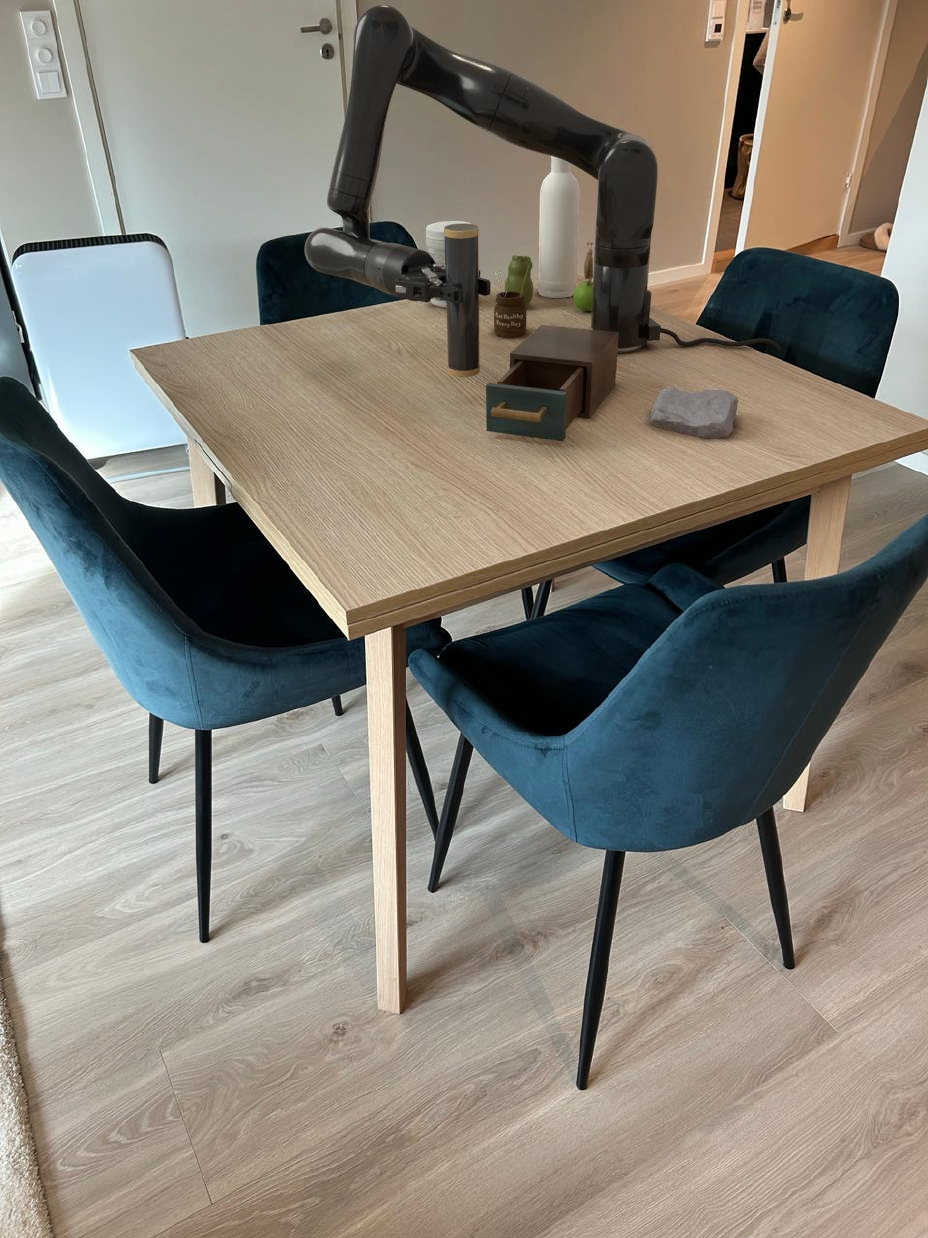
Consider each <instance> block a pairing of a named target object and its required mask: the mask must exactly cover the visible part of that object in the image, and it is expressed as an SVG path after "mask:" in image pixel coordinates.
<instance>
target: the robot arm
mask: <svg viewBox="0 0 928 1238" xmlns="http://www.w3.org/2000/svg"><path fill="white" fill-rule="evenodd" d="M352 37H353V38H352V39H353V49H352V66H351V67H352V68H351V79H350V87H349V94H348V101H347V107H346V111H345V117H344V122H343V127H342V131H341V135H340V137H339V138H340V139H339V143H338V148H337V152H336V156H335V160H334V165H333V167H332V168H333V169H332V173H331V177H330V182H329V186H328V187H329V188H328V191H327V196H326V205H327V207H328V209H329V210H331V211H332V212H333V213H336V214H337V215H339V216H340V217H341V220H342V221H341V222H342V230H338V229H335V228H331V227H325V226H324V227H319V228H317V229H314V230H313V231H312V232H311V233H310V234H309V235H308V237H307V239H306V240H305V244H304V255H305V259H306V261H307V262H308V264H309V265H310V267H311V268H312V269H313V270H314V271H316V272H318V273H321V274H325V275H330V276H335V277H338V278H339V277H340V278H344V279H349V280H352V281H355V282H357V283H360V284H362V285H364V286H367V287H371V288H373V289H377V290H379V291H381V292H382V293H385V294H387V295H390V296H391V295H392V296H393V297H396V298H398V299H404V300H407V301H410V302H423V303H431V302H430V301H431V299H435V300H437V301H440V300H446V301H450V302H453V303H456V304H459V303H462V302H463V289H462V288H461V287H458V286H455V285H451V284H447V283H446V269H445V265H444V264H436V262H435V261H434V259H433V258H432V256H431V255H430V254H429V253H428V252H427V250H423V249H420V248H415V247H411V246H408V245H403V244H401V243H400V244H399V243H395V242H385V241H382V240H378V239H373V238H371V237H370V223H371V222H370V210H371V209H370V207H371V204H372V201H373V196H374V191H375V188H376V183H377V180H378V179H377V178H378V173H379V169H380V163H381V156H382V150H383V141H384V135H385V134H384V133H385V128H386V123H387V117H388V112H389V109H390V104H391V101H392V98H393V94H394V92H395V89H396V85H399V86H402V87H404V88H407V89H410V90H412V91H415V92H417V93H420V94H422V95H425V96H427V97H429V98H431V99H433V100H435V101H436V102H438V103H440V104H442V105H443V106H444V107H446V108H447V109H449V110H450V111H451V112H453V113H454V114H456V115H458V116H460V117H461V118H463V119H464V120H465V121H467V122H469V123H470V124H472V125H474V126H476V127H477V128H480V129H481V130H482V131H484V132H487V133H488V134H490V135H492V136H494V137H496V138H498V139H500V140H502V141H505V142H506V143H509V144H511V145H513V146H516V147H519V148H521V149H524V150H528V151H531V152H534V153H537V154H542V155H545V156H548V157H551V156H552V157H556V158H559V159H562V160H564V161H566V162H568V163H570V165H572V166H574V167H577V168H578V169H579V170H581V171H583V172H584V173H586V174H588V175H589V176H590V177H592V178H593V179H595V180H596V181H597V201H596V217H595V219H596V220H595V228H594V229H595V230H594V234H595V235H594V252H593V254H594V255H593V278H592V282H593V294H592V310H591V315H590V316H591V319H590V326H589V327H588V329H590V330H600V331H610V332H619V335H618V351H617V354H623V353H632V352H636V351H639V350H640V349H646V348H648V342H652V341H653V342H654V341H660V339H661V334H664V335H667V336H670V337H671V338H672V339H674V341H675V343H676V344H677V345H678V346H681V347H684V348H689V347H693V346H696V345H700V344H705V343H706V344H707V343H708V344H714V345H720V346H723V347H732V348H733V347H737V348H738V347H745V346H750V345H757V344H765V345H769V346H771V347H773V348H774V349H775V350H779V351H781V350H782V347H781V346H780V345H779V344H778V343H777V342H776V341H774V340H771V339H770V338H760V337H759V338H753V339H748V340H747V339H746V340H741V341H730V340H729V341H728V340H723V339H718V338H714V337H713V338H712V337H700V338H696V339H694V340H691V341H683V340H682V339H680V337H679V335H678V334H677V333H676V332H675V331H672V330H670V329H668V328H663V327H662V326H661V324H660V323H658V322H656V321H655V320H654V319H652V318H651V317H650V316H651V304H652V302H651V301H652V292H651V290H650V289H648V284H649V271H650V270H649V269H650V258H651V257H650V256H651V243H652V236H653V235H652V234H653V228H654V223H655V214H656V213H655V212H656V200H657V190H658V176H659V163H658V158H657V157H656V156H657V155H656V153H655V152H654V149H653V148H652V146H651V144H650V143H649V142H648V141H647V140H646V139H645V138H644V137H642V136H640V135H637V134H636V133H632V132H629V131H626V130H623V129H620V128H618V127H615V126H612V125H609V124H607V123H605V122H603V121H600V120H597V119H595V118H593V117H590V116H588V115H587V114H585V113H583V112H581V111H579V110H577V109H576V108H575V107H574V106H572V105H570V104H569V103H567V102H566V101H564V100H563V99H561V98H559V97H558V96H556V95H555V94H553V93H552V92H550V91H549V90H547V89H545V88H543V87H542V86H540V85H538V84H536V83H535V82H533V81H531V80H529V79H527V78H525V77H523V76H521V75H520V74H517V73H515V72H513V71H512V70H509V69H507V68H506V67H504V66H503V67H502V66H500V65H498V64H495V63H492V62H490V61H487V60H484V59H481V58H476V57H473V56H469V55H466V54H462V53H459V52H456V51H454V50H452V49H449V48H447V47H446V46H443V45H442V44H440V43H438V42H437V41H435V40H434V39H432V38H430V37H428V36H427V35H426V34H424V33H422V32H421V31H419V30H418V29H417V28H415V27H414V26H412V24H410V22H409V20H408V19H407V17H406V16H405V15H404V14H403V13H402V12H401V11H400V10H399V9H397V8H396V7H394V6H392V5H388V4H376V5H373V6H371V7H369V8H367V9H366V10H365V11H364V12H363V13H362V14H361V15H360V16H359V17H358V20H357V21H356V24H355V26H354V30H353V36H352ZM491 285H492V283H491V280H489V279H487V278H483V277H481V270H480V269H479V296H483V297H487V296H490V295H491V287H492V286H491Z"/></svg>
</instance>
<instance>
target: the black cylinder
mask: <svg viewBox="0 0 928 1238" xmlns="http://www.w3.org/2000/svg"><path fill="white" fill-rule="evenodd" d="M479 234H480V227H479V226H478V225H476V224H474V223H471V224H451V225H447V226H445V227H444V235H445V269H446V283H447V284H451V285H455V286H458V287H461V288H462V289H463V302H462V303H459V304H456V303H453V302H450V301H446V305H447V308H446V334H447V335H446V336H447V337H446V339H447V341H446V342H447V373H448V375H450V376H452V377H455V378H456V377H457V378H469V377H470V378H471V377H475V376H477V375H479V374H480V372H481V364H480V294H479V270H480V269H479V268H480V264H479V263H480V261H479V260H480V259H479V258H480V257H479V254H480V253H479V252H480V251H479V247H480V246H479Z"/></svg>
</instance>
